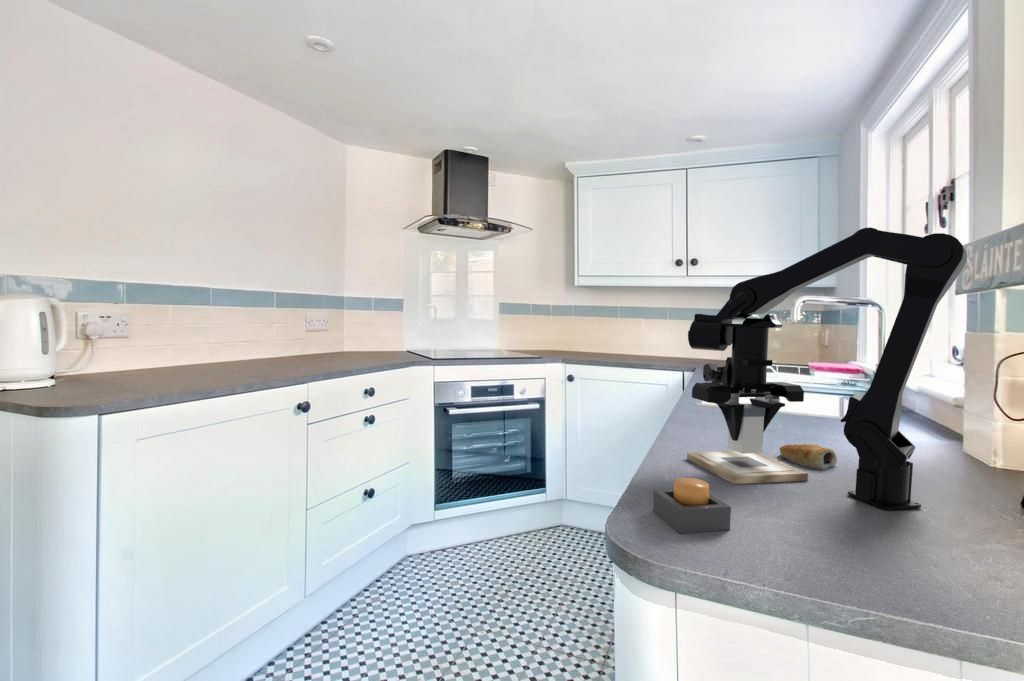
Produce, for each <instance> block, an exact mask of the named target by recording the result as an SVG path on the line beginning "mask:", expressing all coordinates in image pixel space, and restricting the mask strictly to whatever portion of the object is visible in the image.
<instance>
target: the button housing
mask: <svg viewBox="0 0 1024 681" xmlns="http://www.w3.org/2000/svg"><path fill="white" fill-rule="evenodd" d="M673 492H674V488H666V489H665V488H664V489H653V502H652V505H653V506H652V512H654V514H656V515H657V516H658V517H659V518H660V519H662V521H664V522H666V523H667V524H668V526H670V527H671V528H672V529H674V530H675V531H676V532H677V533H678V534H690V533H692V534H693V533H703V532H704V533H705V532H706V533H707V532H719V531H720V532H721V531H730V530H731V515H732V514H731V512H732V506H730V505H728V504H727V503H726V502H724V501H722V500H720V498H717V497H716V496H714V495H712V494H711V493H709V503H708V505H698V506H684V505H681V504H680V503H678V502H677V501H676V500H674V499H673Z"/></svg>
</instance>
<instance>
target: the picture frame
mask: <svg viewBox="0 0 1024 681" xmlns="http://www.w3.org/2000/svg"><path fill="white" fill-rule="evenodd" d="M686 459H687V460H688V461H690V462H691V463H694V464H695V465H697V466H699V467H701V468H703V469H704V470H707V471H709V472H710V473H712V474H714V475H716V476H718V477H720V478H721V479H723V480H725V481H727V482H729V483H730V484H732V485H743V484H759V483H761V484H762V483H763V484H765V483H780V482H785V483H786V482H799V481H800V482H801V481H802V482H803V481H804V482H805V481H808V480H809V473H808V472H806V471H803V470H801V469H799V468H796V467H793V466H791V465H789V464H787V463H784V462H781V461H779V460H776V459H775V458H773V457H769V456H767V455H764V454H762V453H746V454H742V453H739V452H737V451H735V450H730V451H729V450H727V451H702V452H701V451H699V452H686Z"/></svg>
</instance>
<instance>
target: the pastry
mask: <svg viewBox="0 0 1024 681" xmlns="http://www.w3.org/2000/svg"><path fill="white" fill-rule="evenodd" d="M779 453H780V455H781V457H782V458H783V457H784V459H786V460H788V461H790V462H792V463H795V464H798V465H802V466H804V467H808V468H812V469H815V470H825V469H828V468H831V467H834V466H836V465H837V463H838V458H837V455H836V452H835V451H834V450H833V449H832V448H827V447H823V446H819V445H816V444H806V443H801V444H785V445H782V446H780V447H779Z"/></svg>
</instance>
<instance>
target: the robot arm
mask: <svg viewBox="0 0 1024 681" xmlns="http://www.w3.org/2000/svg"><path fill="white" fill-rule="evenodd" d="M871 257H874V258H879V259H882V260H887V261H891V262H894V263H898V264H903V265H906V267H905V268H906V269H905V274H904V289H903V290H904V292H903V299H902V302H901V304H900V306H899V309H898V311H897V315H896V317H895V320H894V323H893V325H892V328H891V331H890V333H889V336H888V338H887V341H886V344H885V347H884V349H883V352H882V354H881V357H880V359H879V362H878V365H877V368H876V370H875V373H874V375H873V378H872V381H871V383H870V386H869V387H868V389H867V390H866V392H865V393H864V394H862V393H861V392H859V393H856V394H854V395H852V396H850V397H849V399H848V404H847V411H846V412H845V415H844V416H843V417H842V418H841V419H840V423H844V425H843V435H844V437H845V438H846V440H847V441H848V443H849V444H850V445H852V447H853V448H855V450H856V452H857V456H858V457H859V458H858V468H856V474H855V475H856V476H855V477H856V478H855V490H848V491H847V495H849V496H851V497H853V498H856V499H858V500H861V501H863V502H865V503H868V504H870V505H873V506H875V507H877V508H880V509H881V510H885V511H889V510H905V509H906V510H907V509H920V508H922V504H921V503H919V502H918V501H914V500H911V497H912V487H913V486H912V484H913V483H912V482H913V472H914V471H913V468H914V467H913V466H914V463H913V462H911V461H908V460H910V459H911V457H912V455H913V453H914V451H915V450H916V446H915V445H914V444H913V443H912V442H911V441H910V440H909V439H908V438H907V437H906V436H905V435H904V434H903V433H902V432H901V431H900V430H899V429H900V428H899V427H900V422H901V416H902V406H903V405H902V404H903V403H902V402H903V393H904V391H905V387H906V385H907V383H908V380H909V377H910V376H911V373H912V371H913V367H914V365H915V362H916V360H917V358H918V355H919V352H920V350H921V347H922V345H923V342H924V340H925V337H926V336H927V333H928V330H929V328H930V325H931V323H932V322H931V321H932V319H933V318H934V317H933V316H934V314H935V312H936V309H937V307H938V305H939V303H940V301H941V300H942V299H943V298H944V296H945V295H946V293H947V292H948V291H949V290H950V289H951V287H952V285H953V284H954V282H955V281H956V279H957V278H958V276H959V275H960V273H961V272H962V271H963V269H964V268H965V265H966V263H967V260H968V253H967V249H966V248H965V247H964V245H963V244H962V242H961V241H960V239H958V238H957V237H955V236H953V235H951V234H947V233H943V232H940V233H938V232H937V233H936V232H935V233H934V232H933V233H931V234H926V235H924V236H917V235H912V234H908V233H906V234H905V233H899V232H892V231H885V230H880V229H877V228H875V227H864V228H859V229H858V230H857V231H856V232H854V233H853V234H852V235H850V236H847V237H846V238H844V239H842V240H840V241H837V242H836V243H834V244H831V245H830V246H829V245H828V246H827V247H826V248H824V249H822V250H819V251H817V252H815V253H814V254H811V255H809V256H808V257H805V258H803V259H802V260H799V261H797V262H795V263H793V264H792V265H789V266H787V267H786V268H784V269H781V270H778V271H775V272H772V273H768V274H763V275H759V276H755V277H753V278H749V279H747V280H744V281H743V280H742V281H741V282H740V281H739V282H738V283H736V284H735V285H734V286H733V287H732V288H731V291H730V294H729V299H728V300H727V302H726V303H725V304H724V305H723V306H722V308H721V309H720V310H719V312H717V314H716V315H715V314H707V313H695V314H694V316H693V317H694V319H693V320H692V322H691V324H690V325H689V326H690V327H689V330H688V332H687V341H688V344H689V346H690V348H691V349H692V350H704V351H718V352H725V351H726V350H727V348H728V347H731V356H728V357H726V360H725V365H724V366H718V364H717V363H706V364H703V369H702V371H703V372H702V377H703V380H704V381H705V382H695V384H694V385H693V387H692V388H691V398H692V399H696V400H699V401H702V402H706V403H708V404H709V403H710V404H715V405H716V406H718V408H719V409H720V411H721V414H723V417H724V420H725V423H726V425H727V429H728V432H730V435H731V438H732V440H734V441H737V440H738V437H739V433H740V428H741V422H742V416H743V411H744V404H745V403H740V398H749V402H750V404H753V405H757V406H760V407H764V408H765V416H764V429H763V434H764V433H765V431H766V429H767V427H768V426H769V425H770V423H771V421H773V419H774V417H775V416H776V415H777V413H778V412H779V411H780V409H781V408H784V407H786V403H785V402H781V400H780V398H785V400H786V401H787V402H789V403H791V402H792V403H796V402H797V403H801V402H804V401H805V391H804V389H803V388H802V386H801V384H794V383H790V382H784V381H767V373H768V372H767V370H768V369H767V368H768V367H773V360H772V359H768V353H769V352H768V348H769V329H781V328H782V327H783V323H781V322H780V321H779V320H778V319H776V318H775V316H774V314H772V313H767V312H769V311H771V310H772V309H773V308H775V307H777V306H778V305H779V304H781V303H783V302H784V301H785V300H786V299H788V297H790V296H791V295H792V294H793V293H795V292H797V291H798V290H801V289H803V288H805V287H808V286H809V285H810V286H811V285H812V284H814V283H817V282H819V281H821V280H823V279H825V278H827V277H829V276H831V275H833V274H836V273H838V272H840V271H842V270H845V269H847V268H848V267H849V268H850V267H851V266H853V265H855V264H857V263H860V262H862V261H864V260H866V259H868V258H871ZM766 313H767V314H766ZM763 314H765V315H764V316H763V317H762V318H761V317H751V316H753V315H755V316H759V315H763ZM734 320H735V321H736V320H737V321H738V320H740V321H741V320H743V322H742V323H733V321H734Z"/></svg>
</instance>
